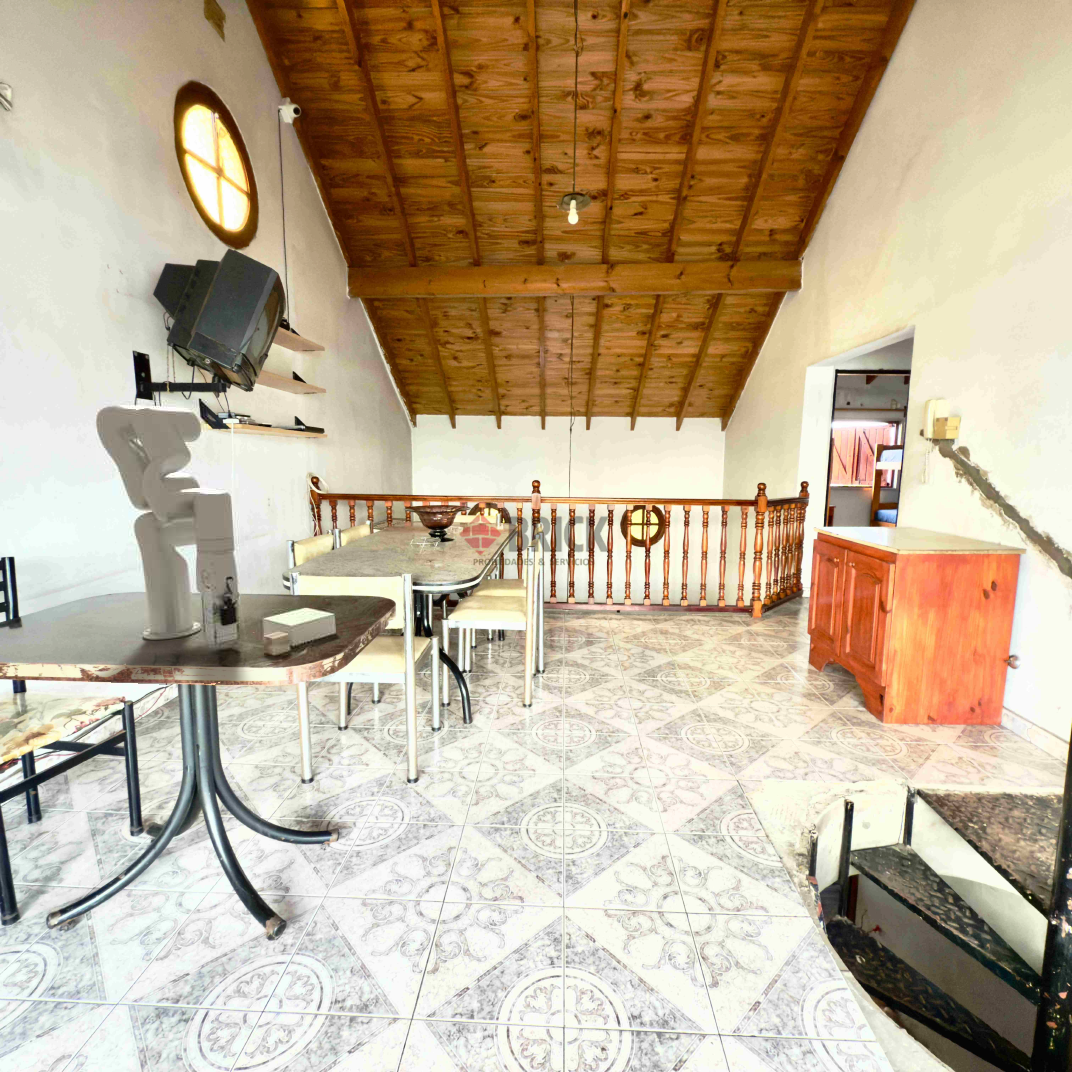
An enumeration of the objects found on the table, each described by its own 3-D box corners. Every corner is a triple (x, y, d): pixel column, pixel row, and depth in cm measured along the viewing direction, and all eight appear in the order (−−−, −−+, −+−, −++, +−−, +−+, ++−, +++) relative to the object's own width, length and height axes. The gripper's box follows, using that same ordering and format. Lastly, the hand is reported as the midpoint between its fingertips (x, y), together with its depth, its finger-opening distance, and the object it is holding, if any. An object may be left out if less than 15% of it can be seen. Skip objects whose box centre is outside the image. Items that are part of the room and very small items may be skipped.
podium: (264, 638, 140) (262, 618, 139) (307, 625, 150) (305, 607, 149) (292, 646, 134) (291, 625, 133) (335, 633, 143) (334, 613, 143)
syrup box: (229, 634, 136) (225, 575, 133) (240, 639, 132) (236, 579, 130) (204, 640, 131) (199, 579, 129) (214, 646, 128) (209, 583, 125)
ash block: (264, 652, 130) (262, 635, 129) (280, 647, 133) (278, 631, 132) (274, 655, 128) (272, 638, 127) (290, 650, 131) (289, 634, 130)
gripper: (179, 543, 130) (185, 618, 133) (218, 552, 120) (224, 633, 123) (212, 539, 136) (218, 611, 139) (252, 547, 127) (257, 624, 129)
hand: (221, 620), depth 131 cm, fingers closed on syrup box, 6 cm apart
